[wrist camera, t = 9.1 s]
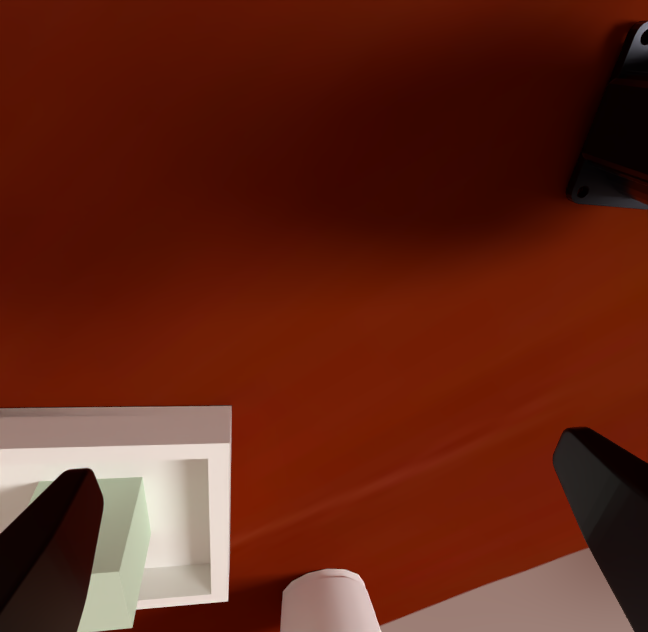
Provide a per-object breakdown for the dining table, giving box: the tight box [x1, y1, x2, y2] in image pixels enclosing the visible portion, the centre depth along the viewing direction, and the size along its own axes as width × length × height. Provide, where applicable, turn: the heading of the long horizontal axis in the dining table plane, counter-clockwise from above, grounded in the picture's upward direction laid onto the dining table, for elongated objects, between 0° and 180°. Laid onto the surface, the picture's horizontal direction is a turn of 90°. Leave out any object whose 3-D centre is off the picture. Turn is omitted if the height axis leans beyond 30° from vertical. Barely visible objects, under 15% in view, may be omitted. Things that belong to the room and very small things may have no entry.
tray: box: [0, 406, 232, 609], centre depth 24 cm, size 14×14×2 cm
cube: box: [27, 477, 151, 632], centre depth 22 cm, size 5×5×5 cm
